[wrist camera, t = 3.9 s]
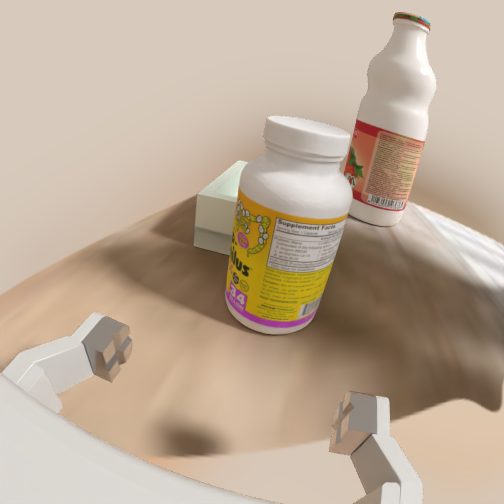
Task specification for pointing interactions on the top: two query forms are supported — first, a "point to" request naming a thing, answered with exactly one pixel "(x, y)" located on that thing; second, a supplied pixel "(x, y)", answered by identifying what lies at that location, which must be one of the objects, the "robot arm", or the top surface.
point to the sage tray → (218, 211)
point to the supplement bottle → (287, 225)
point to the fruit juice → (391, 124)
